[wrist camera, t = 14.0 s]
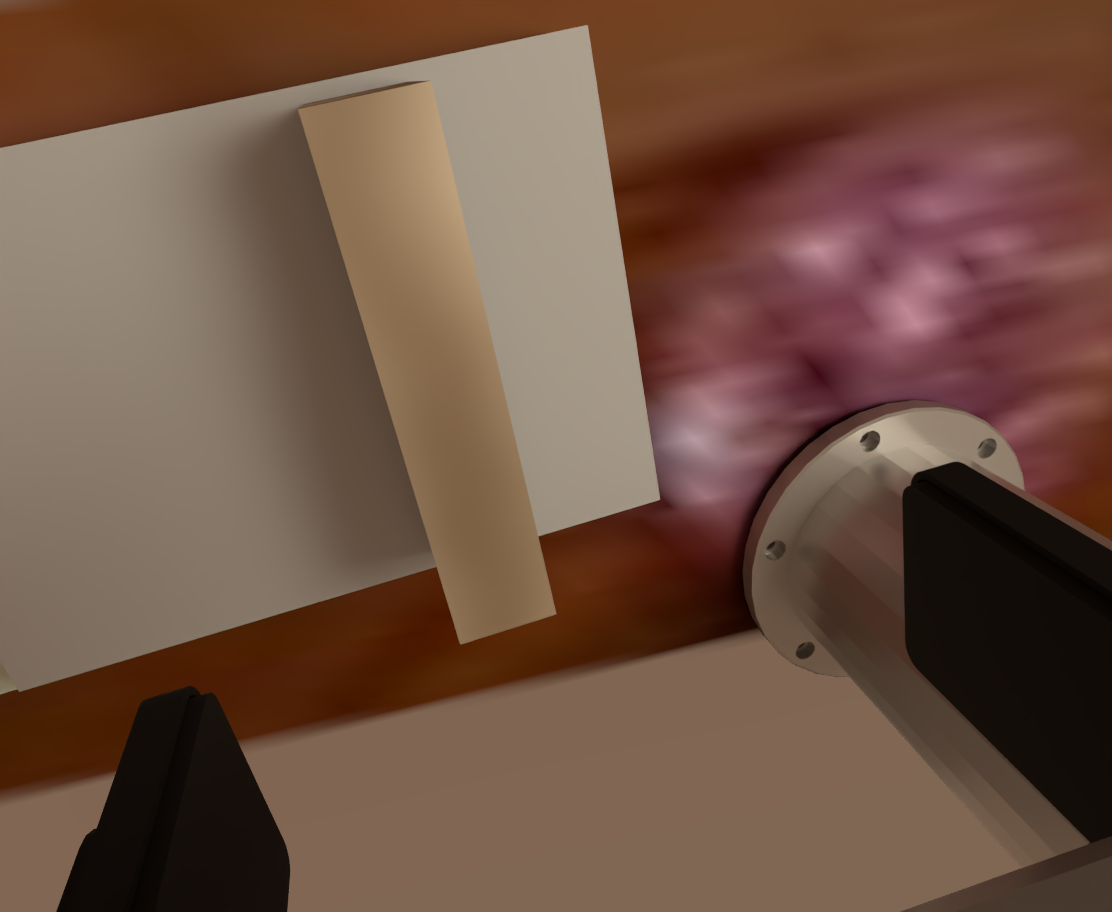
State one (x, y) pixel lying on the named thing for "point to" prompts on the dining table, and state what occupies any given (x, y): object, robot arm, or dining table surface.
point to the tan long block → (432, 347)
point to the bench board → (282, 357)
